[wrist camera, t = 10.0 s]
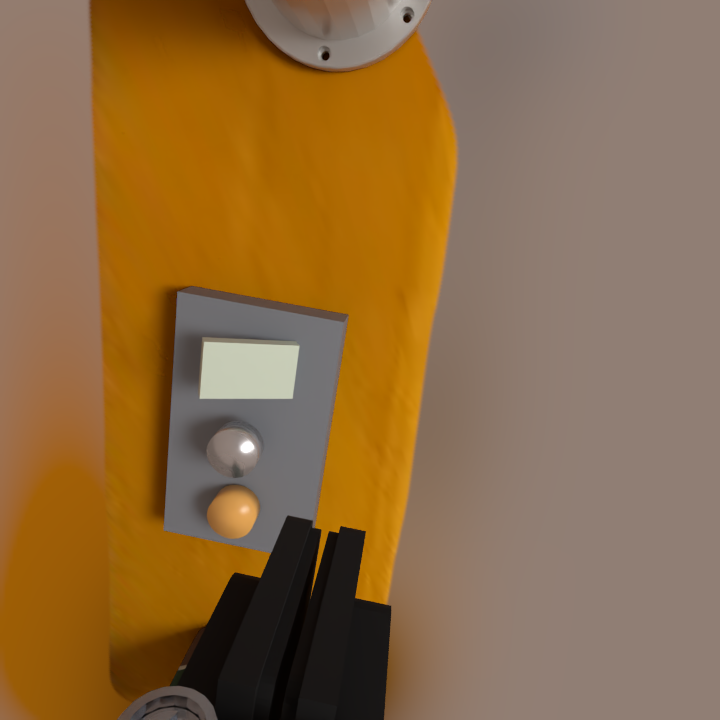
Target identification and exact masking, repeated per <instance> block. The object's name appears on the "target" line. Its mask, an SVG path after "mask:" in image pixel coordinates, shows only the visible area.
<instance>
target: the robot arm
mask: <svg viewBox="0 0 720 720" xmlns="http://www.w3.org/2000/svg"><path fill="white" fill-rule="evenodd" d="M245 2H246V5H247V7H248V9H249V10H250V12H251V14H252V16H253V18H254V20H255V22H256V23H257V24H258V26H259V27H260V28H261V30H262V31H263V32H264V33H265V35H266V36H267V37H268V39H269V40H270V41H271V42H272V43H273V44H274V45H275V46H276V47H277V48H278V49H280V50H281V51H282V52H284V53H285V54H287V55H288V56H289V57H291V58H292V59H294V60H295V61H298V62H300V63H302V64H304V65H306V66H309V67H311V68H315V69H320V70H325V71H352V70H356V69H361V68H365V67H368V66H370V65H372V64H374V63H377V62H379V61H381V60H383V59H385V58H386V57H387V56H389V55H390V54H392V53H393V52H394V51H396V50H397V49H399V48H400V47H401V46H402V45H403V44H404V43H405V42H406V41H407V40H408V38H409V37H410V36H411V35H412V34H413V33H414V32H415V30H416V29H417V27H418V26H419V24H420V23H421V21H422V20H423V18H424V17H425V15H426V13H427V11H428V9H429V7H430V4H431V2H432V0H245ZM407 15H409V16H410V17H411V18H412V19H411V21H410V22H409V23H405V22H404V21H403V19H404V17H405V16H407ZM325 53H329V55H330V57H329V59H328V60H323V54H325ZM312 527H313V520H308V519H303V518H299V517H294V516H289V515H288V516H287V517H286V519H285V522H284V524H283V526H282V529H281V531H280V533H279V536H278V538H277V541H276V543H275V545H274V548H273V550H272V552H271V555H270V557H269V560H268V562H267V564H266V567H265V569H264V571H263V574H262V576H261V578H258V577H254V576H249V575H244V574H240V573H234V574H233V575H232V577H231V578H230V580H229V582H228V584H227V586H226V588H225V590H224V592H223V594H222V596H221V598H220V600H219V602H218V604H217V606H216V608H215V610H214V612H213V614H212V616H211V618H210V620H209V622H208V624H207V626H206V628H205V630H204V632H203V634H202V636H201V638H200V640H199V642H198V644H197V646H196V648H195V650H194V652H193V654H192V656H191V658H190V660H189V662H188V664H187V666H186V668H185V670H184V672H183V674H182V676H181V678H180V680H179V682H178V684H177V686H171V687H162V688H159V689H156V690H153V691H150V692H148V693H146V694H145V695H143V696H141V697H140V698H138V699H137V700H135V701H134V702H133V703H132V704H131V705H130V706H129V707H128V708H127V709H126V710H125V711H124V712H123V713H122V714H121V716H120V717H119V718H118V719H117V720H384V709H385V694H386V680H387V666H388V651H389V637H390V621H391V606H389V605H385V604H380V603H375V602H371V601H366V600H361V599H357V598H355V595H356V588H357V582H358V576H359V570H360V564H361V558H362V552H363V546H364V539H365V533H366V531H361V530H357V529H352V528H347V527H342V526H341V527H340V530H339V533H336V532H331V531H329V533H328V537H327V541H326V544H325V548H324V552H323V555H322V559H321V563H320V566H319V570H318V573H317V577H316V581H315V584H314V588H313V592H312V595H311V591H312V585H313V579H314V573H315V567H316V561H317V555H318V549H319V543H320V537H321V529H316V528H312ZM310 597H311V599H310Z"/></svg>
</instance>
